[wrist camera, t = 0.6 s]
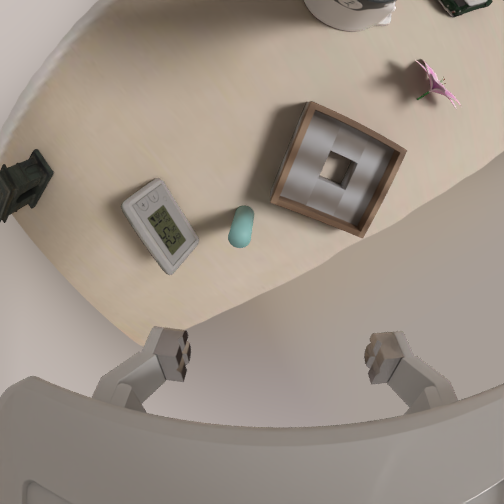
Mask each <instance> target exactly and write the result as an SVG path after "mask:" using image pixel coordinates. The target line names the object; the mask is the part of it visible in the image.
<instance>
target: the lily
mask: <svg viewBox="0 0 504 504" xmlns="http://www.w3.org/2000/svg"><path fill="white" fill-rule="evenodd" d="M417 62H418V61H417ZM424 62H425V61H424ZM418 63H419V62H418ZM419 64H420V63H419ZM425 64H426V66H427V69H428V71H427V70H426V68H425V67H424V66H423V65H422V64H420V65H421V66H422V67H423V68H424V70H425V71H426V72H427V74H428V76H429V80H430V91H428V92H427V93H425V94H424V95H422V96H421V97H419V98H417V100H419V99H420V98H422V97H424V96H425V95H427V94H428V93H430V92H435V93H439V94H442V95H445V96H446V97H448V99H449V100H450V101H451V102H452V104H453V105H454V106H455V104H454V102H453V101H452V100H451V99H450V98H452V99H454V100H455V101H457V102H458V100H457V99H456V98H455V96H454V95H453V94H452V93H451V92H450V91H448V90H447V89H446V88H445V87H444V86H443V84H442V82H443V81H444V80H443V81H442V80H441V81H442V82H441V81H439V80H438V78H437V76H436V74H435V72H434V71H433V70H432V69H431V67H430V66H429V65H428V64H427V63H426V62H425ZM443 78H444V77H443ZM444 84H446V83H444ZM449 97H450V98H449ZM458 103H459V102H458ZM459 104H460V103H459ZM460 106H461V105H460ZM461 107H462V106H461ZM455 108H456V106H455ZM456 110H457V108H456Z"/></svg>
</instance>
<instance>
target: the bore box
mask: <svg viewBox="0 0 504 504" xmlns="http://www.w3.org/2000/svg"><path fill="white" fill-rule="evenodd" d="M330 150H331V151H333V152H335V153H338V154H340V155H342V156H344V157H346V158H348V159H350V160H352V161H351V164H350V166H349V168H348V170H347V172H346V175H345V177H344V179H343V181H342V183H341V185H340V184H338V183H336V182H334V181H331V180H329V179H327V178H324V177H322V176H320V173H321V171H322V168H323V166H324V164H325V162H326V159H327V157H328V155H329V153H330ZM406 152H407V150H406V149H404V148H402V147H401V146H399V145H398V144H396V143H394V142H392V141H391V140H389V139H387V138H386V137H384V136H382V135H380V134H378V133H377V132H375V131H373V130H371V129H369V128H367V127H365V126H363V125H362V124H360V123H358V122H356V121H354V120H352V119H350V118H348V117H346V116H343V115H341V114H339V113H337V112H335V111H333V110H331V109H328V108H326V107H324V106H322V105H319V104H317V103H315V102H312V101H310V102H306V105H305V107H304V110H303V112H302V114H301V117H300V119H299V122H298V124H297V127H296V129H295V132H294V134H293V137H292V139H291V142H290V144H289V147H288V149H287V152H286V154H285V157H284V159H283V162H282V164H281V167H280V169H279V172H278V174H277V177H276V179H275V182H274V184H273V187H272V189H271V192H270V203H273V204H276V205H278V206H281V207H284V208H287V209H289V210H292V211H295V212H297V213H300V214H303V215H305V216H308V217H310V218H313V219H316V220H318V221H321V222H323V223H326V224H328V225H331V226H333V227H336V228H338V229H341V230H343V231H346V232H348V233H351V234H353V235H356V236H358V237H361V238H363V237H364V235H365V233H366V232H367V230H368V228H369V226H370V224H371V222H372V221H373V219H374V217H375V215H376V213H377V211H378V209H379V207H380V206H381V204H382V202H383V200H384V198H385V196H386V194H387V192H388V190H389V188H390V186H391V184H392V182H393V180H394V178H395V176H396V173H397V171H398V169H399V167H400V165H401V163H402V161H403V159H404V156H405V154H406Z"/></svg>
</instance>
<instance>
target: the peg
mask: <svg viewBox="0 0 504 504" xmlns="http://www.w3.org/2000/svg"><path fill="white" fill-rule="evenodd" d="M253 219H254V212H253V210H252V208H250V207H249V206H240V207H239V208H237V210H236V212H235V215H234V219H233V222H232V225H231V229H230V232H229V235H228V240H229V242H230V244H231V245H233V246H234V247H237V248H243V247H246V246H247V245H248V244H249V243H250V240H251V233H252V226H253Z"/></svg>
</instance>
